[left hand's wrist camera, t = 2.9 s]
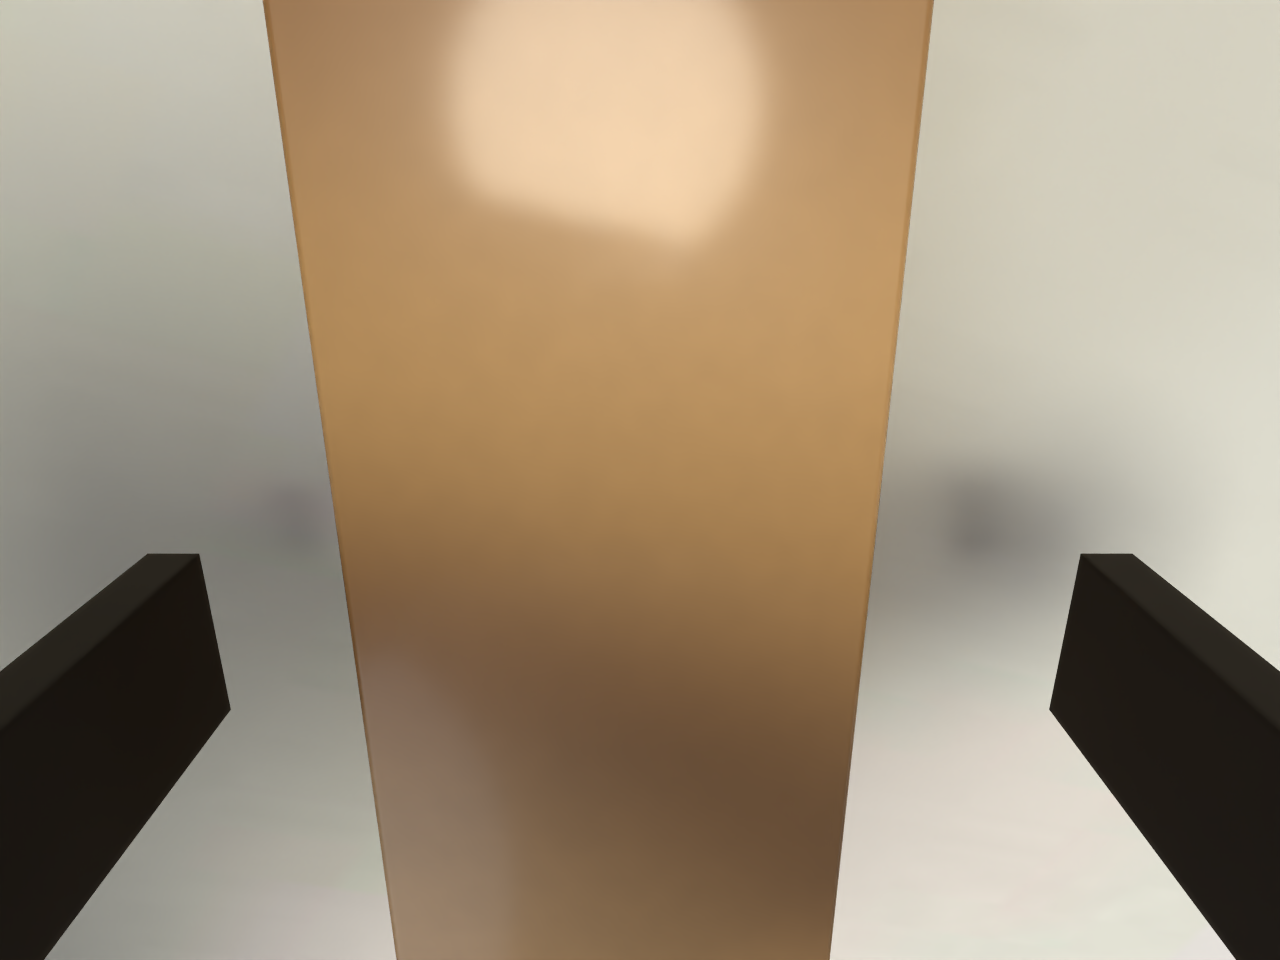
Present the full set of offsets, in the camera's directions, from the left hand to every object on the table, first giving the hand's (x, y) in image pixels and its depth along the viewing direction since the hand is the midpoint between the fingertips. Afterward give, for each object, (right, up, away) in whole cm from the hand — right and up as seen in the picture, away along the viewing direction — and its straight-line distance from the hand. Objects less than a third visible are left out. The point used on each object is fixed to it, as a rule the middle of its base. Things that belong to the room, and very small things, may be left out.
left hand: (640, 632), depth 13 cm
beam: (0, +26, -5) cm, 26 cm away
